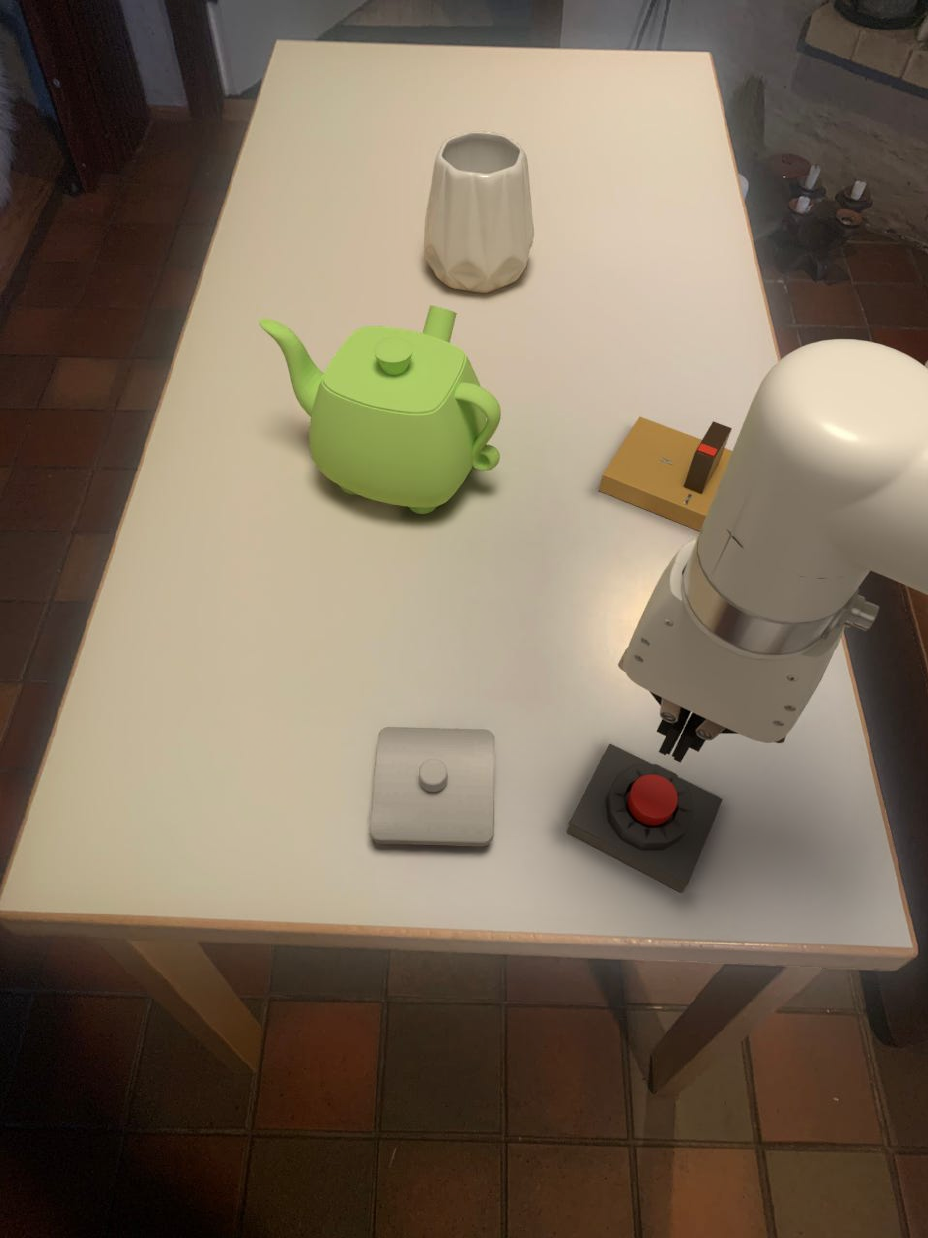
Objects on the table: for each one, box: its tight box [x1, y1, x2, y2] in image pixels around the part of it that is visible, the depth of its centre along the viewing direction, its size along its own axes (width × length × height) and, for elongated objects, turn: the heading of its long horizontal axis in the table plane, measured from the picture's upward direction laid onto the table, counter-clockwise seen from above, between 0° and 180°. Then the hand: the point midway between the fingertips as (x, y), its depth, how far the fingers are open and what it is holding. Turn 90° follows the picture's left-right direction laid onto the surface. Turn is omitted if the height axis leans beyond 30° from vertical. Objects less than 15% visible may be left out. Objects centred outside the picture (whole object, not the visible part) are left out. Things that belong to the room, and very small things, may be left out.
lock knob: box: [684, 420, 733, 494], centre depth 85 cm, size 5×2×5 cm, turn 150°
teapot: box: [258, 305, 502, 515], centre depth 86 cm, size 25×22×16 cm
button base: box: [566, 743, 723, 893], centre depth 68 cm, size 10×8×4 cm
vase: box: [423, 130, 535, 294], centre depth 105 cm, size 14×14×15 cm
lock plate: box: [599, 416, 733, 532], centre depth 89 cm, size 14×10×3 cm
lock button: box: [628, 774, 678, 826], centre depth 65 cm, size 4×4×2 cm
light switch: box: [369, 726, 495, 847], centre depth 68 cm, size 10×10×5 cm
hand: (677, 740), depth 57 cm, fingers closed
